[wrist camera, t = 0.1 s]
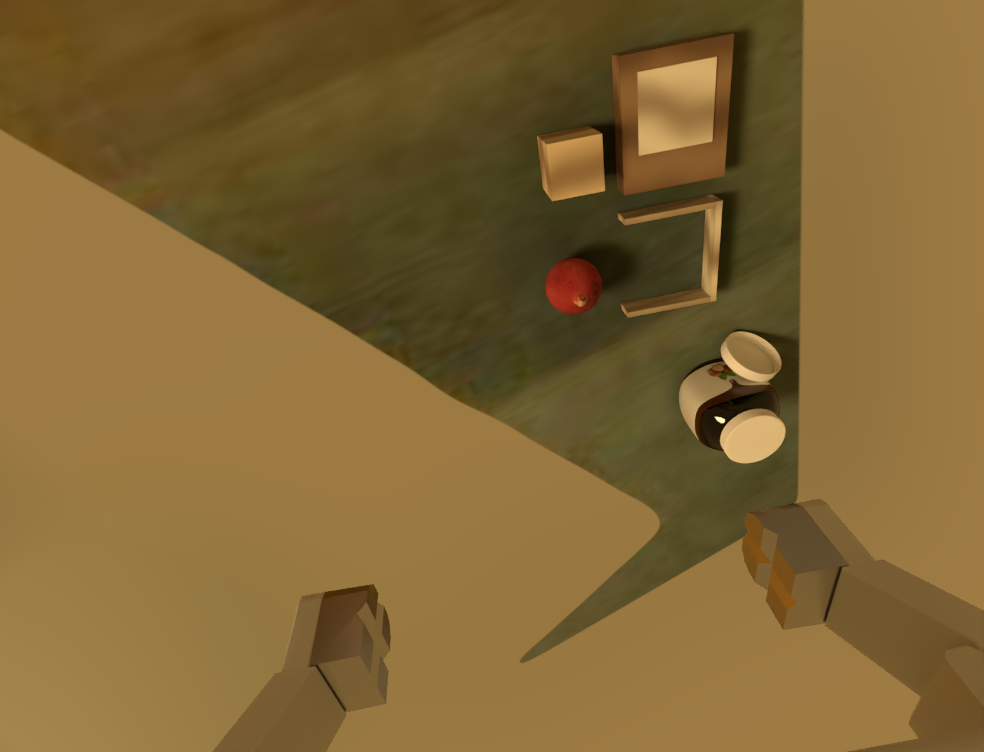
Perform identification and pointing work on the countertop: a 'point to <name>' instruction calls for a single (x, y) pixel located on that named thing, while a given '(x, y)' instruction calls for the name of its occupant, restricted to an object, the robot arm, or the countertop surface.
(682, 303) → the wooden tray
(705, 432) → the spread jar
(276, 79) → the countertop surface
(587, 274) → the onion
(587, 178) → the oak block
